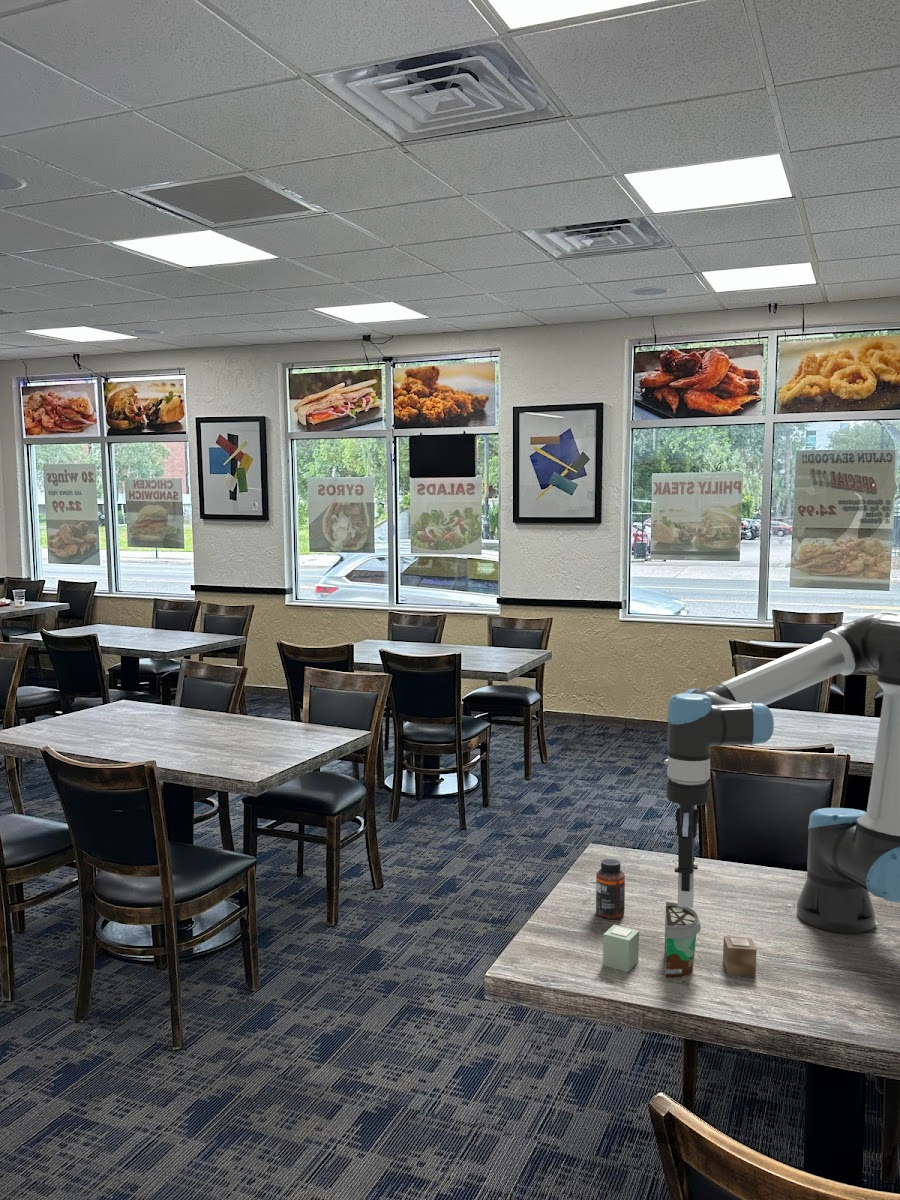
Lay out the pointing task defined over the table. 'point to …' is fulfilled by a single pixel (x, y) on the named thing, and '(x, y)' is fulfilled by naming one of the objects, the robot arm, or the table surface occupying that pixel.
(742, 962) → the walnut block
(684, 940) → the food container
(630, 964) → the sage block
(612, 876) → the supplement bottle
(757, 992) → the table surface
